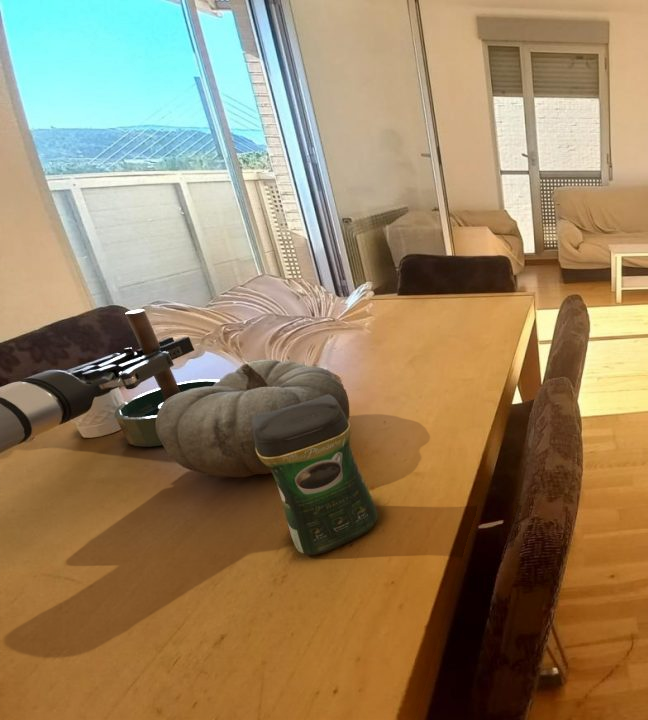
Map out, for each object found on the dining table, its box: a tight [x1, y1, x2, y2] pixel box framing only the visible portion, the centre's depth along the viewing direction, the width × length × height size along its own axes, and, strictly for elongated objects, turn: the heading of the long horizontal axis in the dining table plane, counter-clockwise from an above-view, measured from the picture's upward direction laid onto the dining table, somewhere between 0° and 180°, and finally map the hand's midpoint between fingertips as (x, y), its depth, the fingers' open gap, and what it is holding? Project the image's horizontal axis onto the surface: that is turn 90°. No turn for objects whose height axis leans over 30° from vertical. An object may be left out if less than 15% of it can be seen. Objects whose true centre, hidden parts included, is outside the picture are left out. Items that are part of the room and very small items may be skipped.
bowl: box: [114, 378, 220, 448], centre depth 88 cm, size 16×16×6 cm
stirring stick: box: [124, 309, 181, 409], centre depth 84 cm, size 5×5×18 cm
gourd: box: [155, 358, 351, 478], centre depth 77 cm, size 25×25×17 cm
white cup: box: [70, 387, 126, 439], centre depth 87 cm, size 8×8×10 cm
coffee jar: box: [252, 395, 378, 556], centre depth 59 cm, size 10×8×19 cm
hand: (181, 343), depth 88 cm, fingers closed on stirring stick, 2 cm apart
